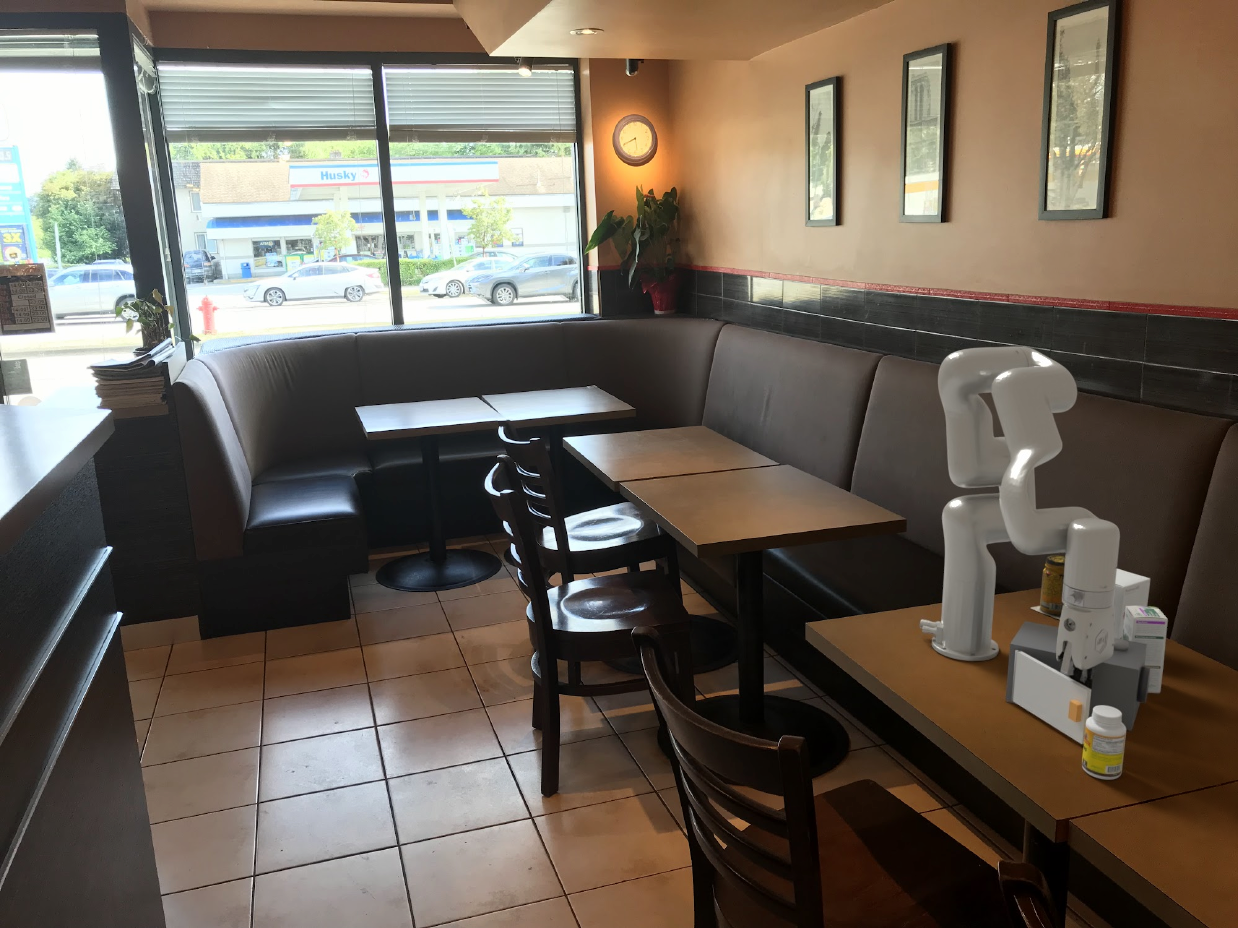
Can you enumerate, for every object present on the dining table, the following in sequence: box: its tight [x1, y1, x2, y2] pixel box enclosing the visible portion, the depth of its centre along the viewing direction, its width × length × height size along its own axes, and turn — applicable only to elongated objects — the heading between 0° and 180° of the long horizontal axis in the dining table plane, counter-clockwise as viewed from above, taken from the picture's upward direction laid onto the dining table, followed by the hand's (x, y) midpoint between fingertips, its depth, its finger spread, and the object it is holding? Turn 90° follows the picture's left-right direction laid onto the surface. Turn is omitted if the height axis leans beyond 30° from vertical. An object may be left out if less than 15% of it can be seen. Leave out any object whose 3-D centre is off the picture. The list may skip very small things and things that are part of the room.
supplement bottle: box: [1081, 705, 1127, 781], centre depth 148 cm, size 6×6×10 cm
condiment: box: [1030, 555, 1066, 621], centre depth 210 cm, size 7×8×12 cm
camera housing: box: [1005, 620, 1150, 732], centre depth 170 cm, size 21×12×12 cm, turn 56°
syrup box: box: [1123, 605, 1169, 694], centre depth 175 cm, size 6×6×14 cm
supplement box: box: [1113, 568, 1151, 639], centre depth 192 cm, size 9×9×15 cm
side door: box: [1011, 650, 1091, 745], centre depth 162 cm, size 16×2×9 cm, turn 19°
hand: (1078, 699), depth 160 cm, fingers closed
